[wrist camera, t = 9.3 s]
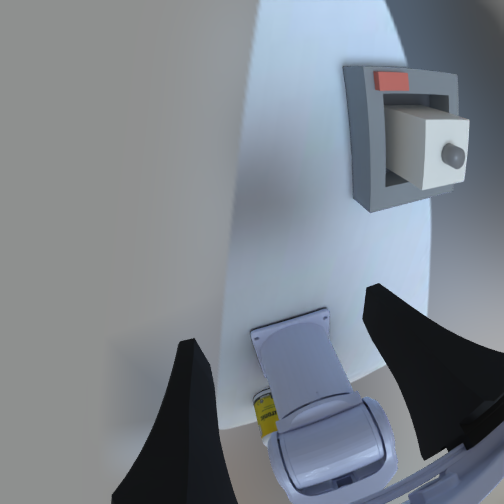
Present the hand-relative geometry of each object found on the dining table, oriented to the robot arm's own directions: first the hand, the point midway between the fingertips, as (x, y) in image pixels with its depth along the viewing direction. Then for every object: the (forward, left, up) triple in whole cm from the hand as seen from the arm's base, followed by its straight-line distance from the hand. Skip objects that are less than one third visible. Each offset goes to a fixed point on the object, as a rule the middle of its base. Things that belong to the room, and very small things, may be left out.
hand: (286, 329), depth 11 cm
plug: (+4, -13, -10) cm, 17 cm away
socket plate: (+4, -13, -10) cm, 17 cm away
